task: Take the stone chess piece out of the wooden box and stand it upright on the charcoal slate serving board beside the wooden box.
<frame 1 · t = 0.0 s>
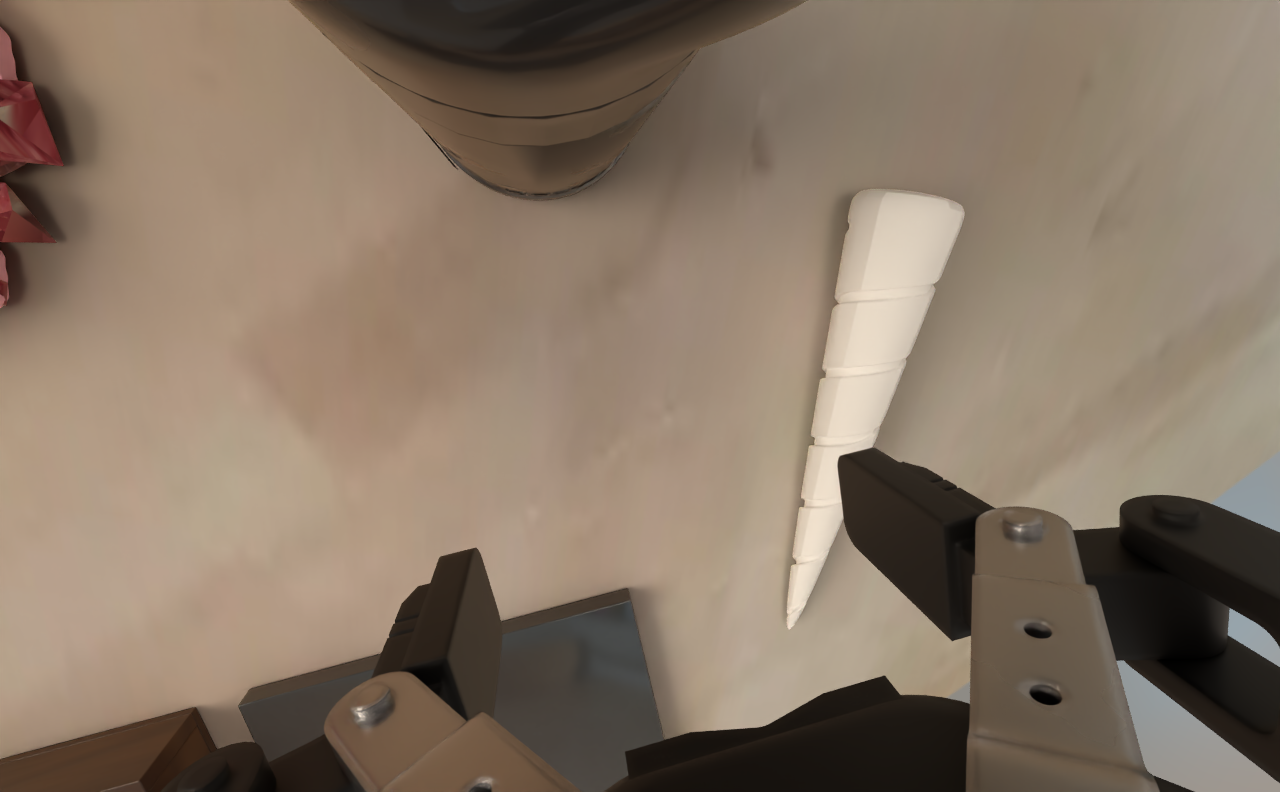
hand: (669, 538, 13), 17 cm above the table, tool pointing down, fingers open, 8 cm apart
unicorn horn: (836, 410, 32), on the table
slate board: (479, 741, 33), on the table
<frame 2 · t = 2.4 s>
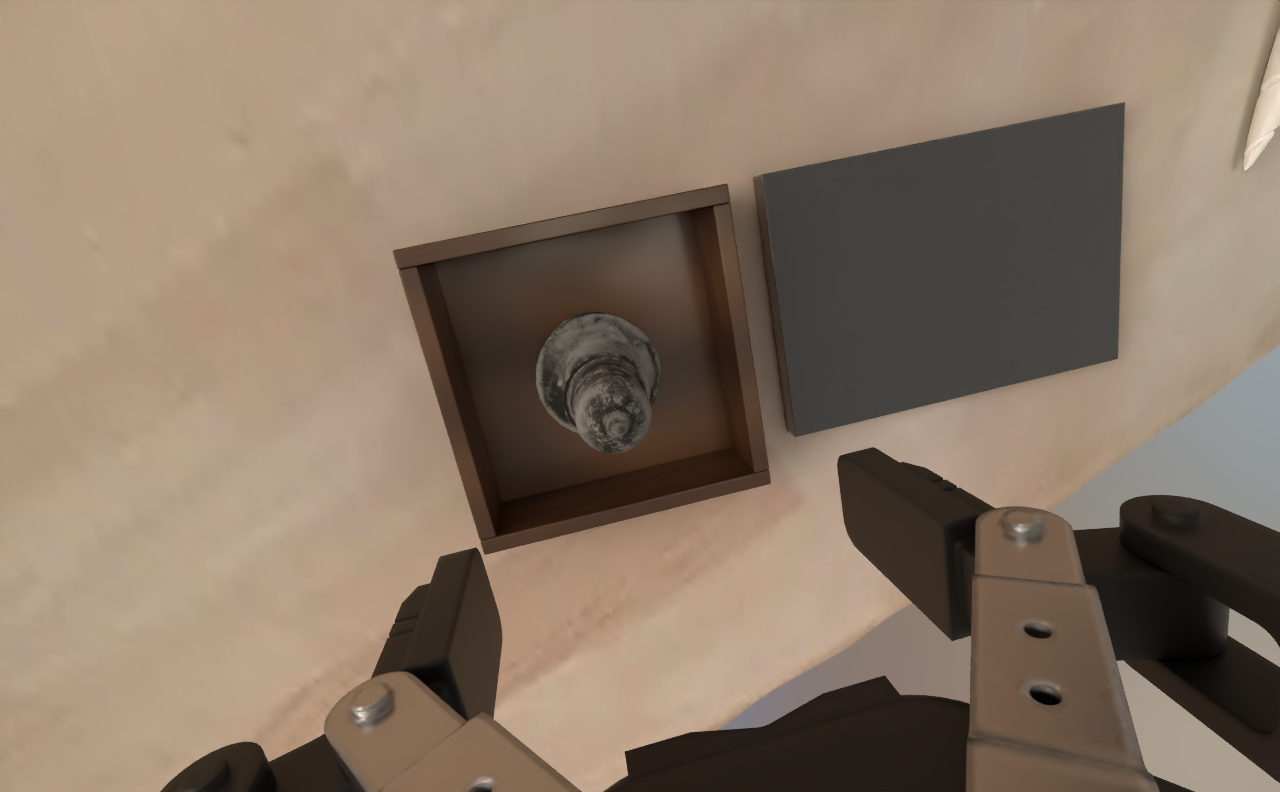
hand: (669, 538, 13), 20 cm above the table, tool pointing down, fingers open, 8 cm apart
wooden box: (593, 360, 32), on the table
slate board: (941, 273, 33), on the table
stone chess piece: (593, 361, 31), resting on wooden box
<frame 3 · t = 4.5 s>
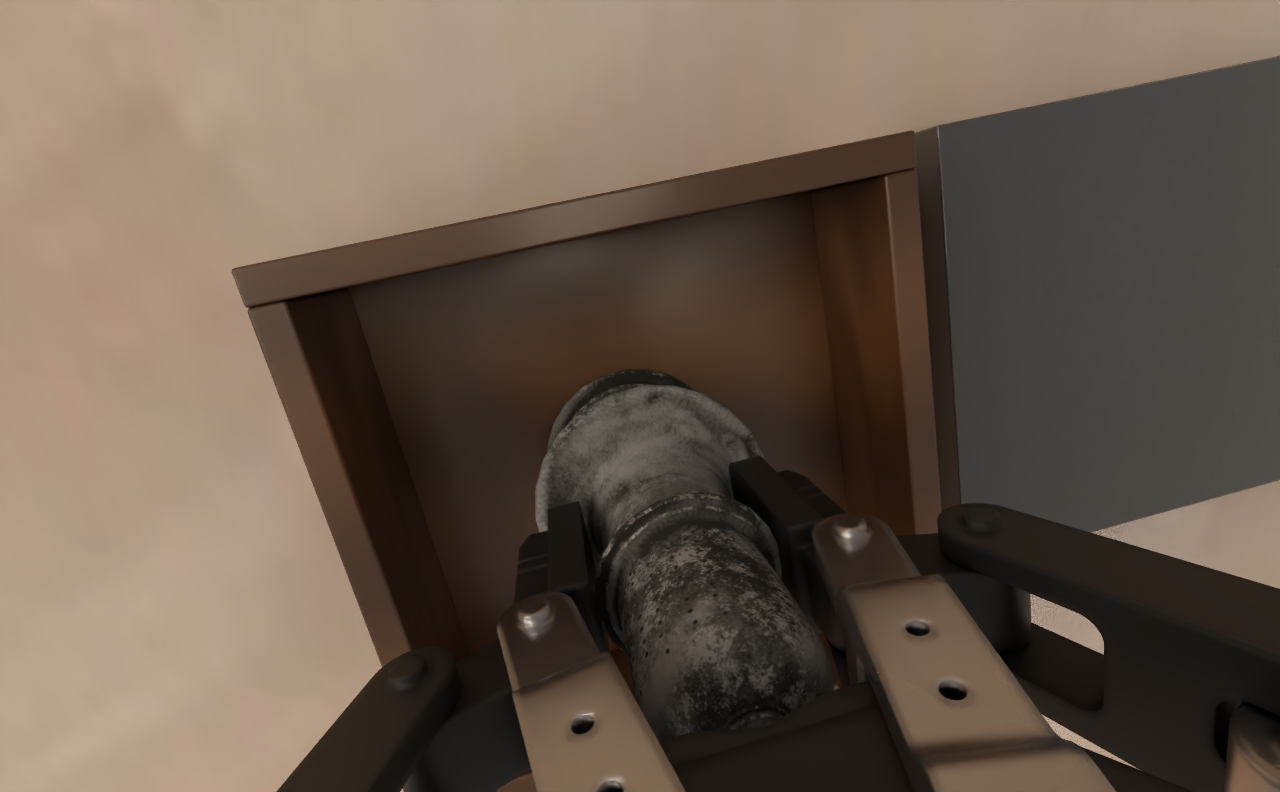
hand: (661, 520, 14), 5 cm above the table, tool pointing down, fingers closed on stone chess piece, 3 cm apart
wooden box: (632, 449, 19), on the table
slate board: (1200, 296, 20), on the table
stone chess piece: (633, 451, 18), resting on wooden box, touching gripper
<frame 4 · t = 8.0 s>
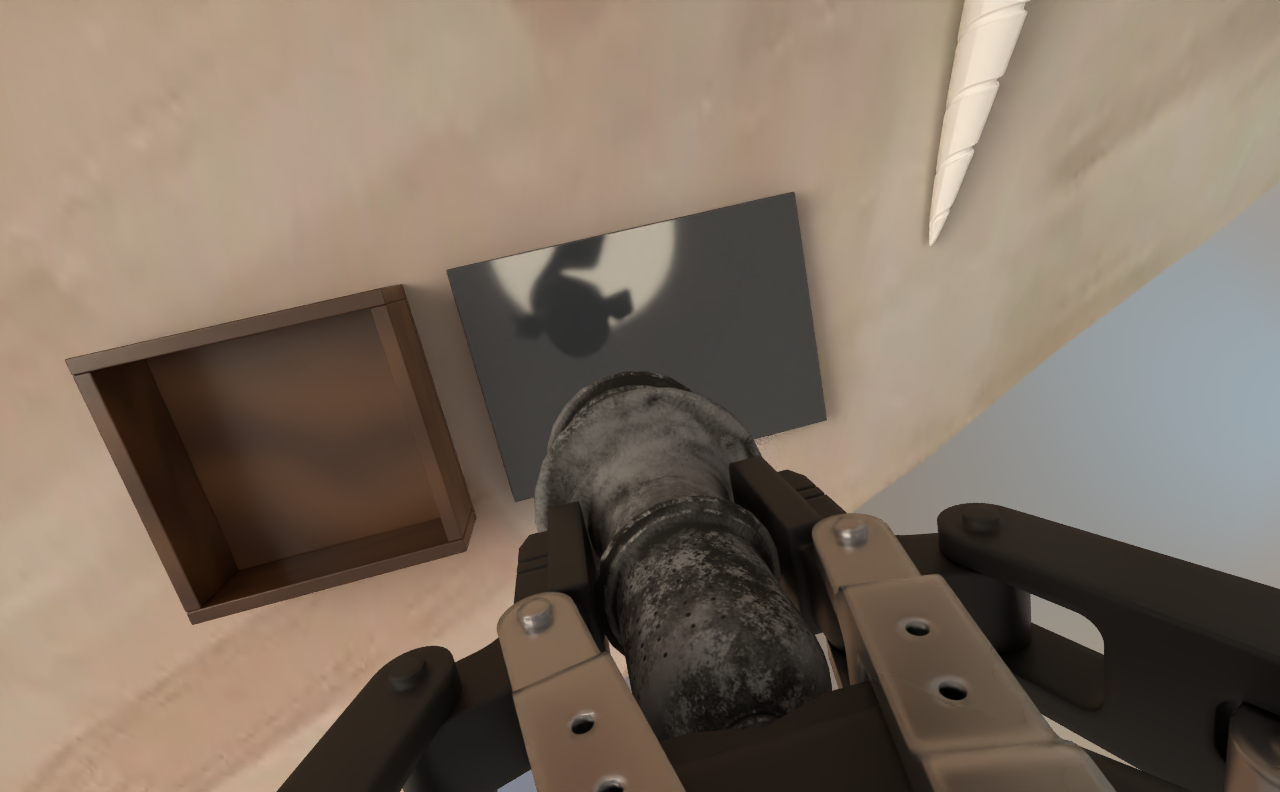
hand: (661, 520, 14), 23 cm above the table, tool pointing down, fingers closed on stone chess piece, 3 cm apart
wooden box: (315, 438, 34), on the table
unicorn horn: (977, 23, 35), on the table
slate board: (648, 347, 36), on the table
stone chess piece: (633, 453, 18), point 18 cm above the table, touching gripper
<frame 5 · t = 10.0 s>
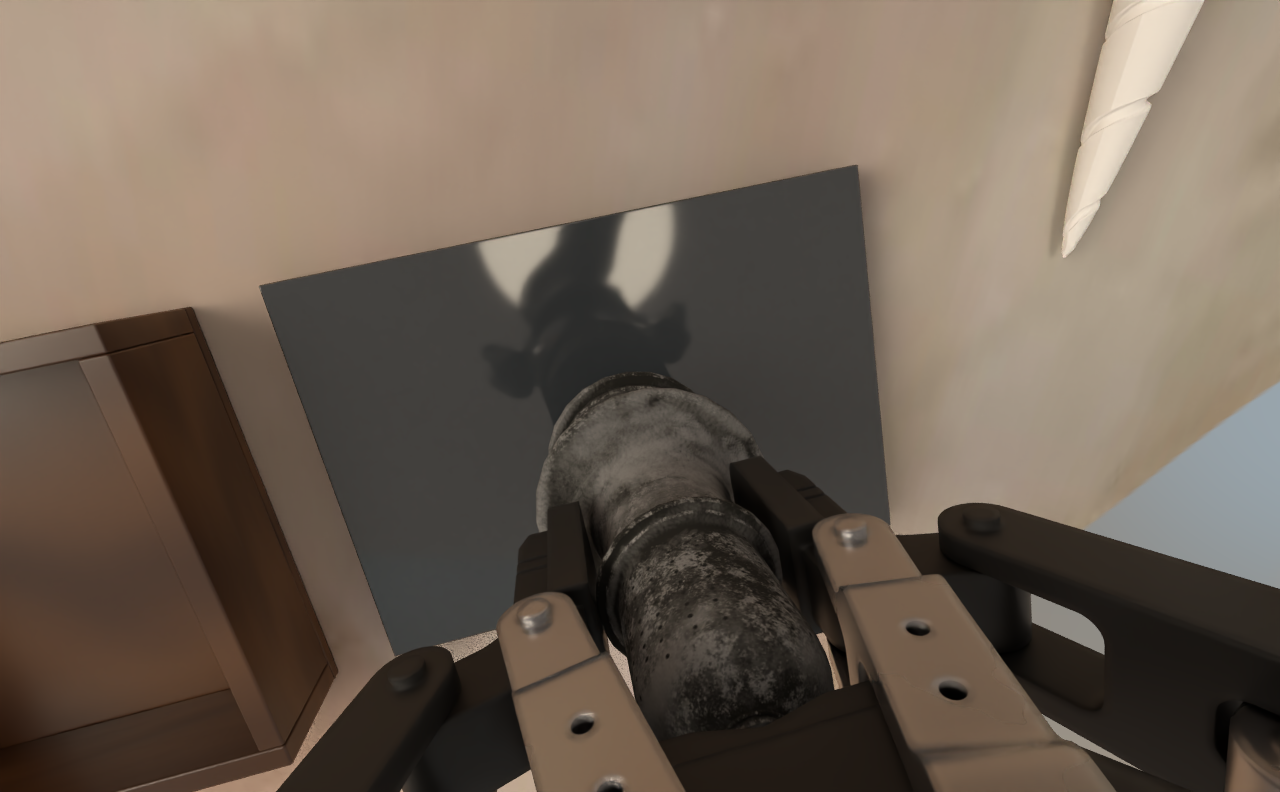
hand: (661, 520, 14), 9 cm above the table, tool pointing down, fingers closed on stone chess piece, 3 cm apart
wooden box: (57, 556, 21), on the table
slate board: (612, 412, 23), on the table
stone chess piece: (634, 453, 18), point 4 cm above the table, touching gripper
when the fingers open (6 cm above the table, at t = 11.3 s): stone chess piece stays where it is, resting on slate board.
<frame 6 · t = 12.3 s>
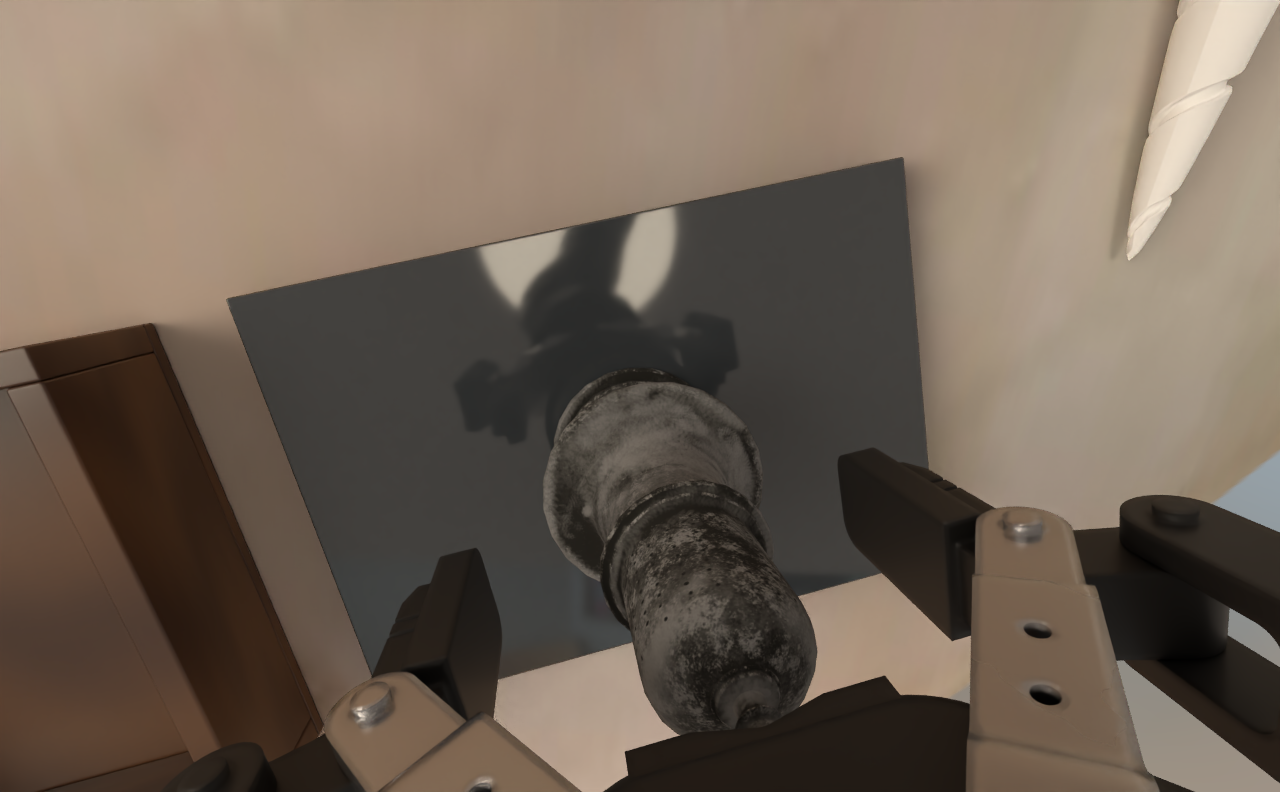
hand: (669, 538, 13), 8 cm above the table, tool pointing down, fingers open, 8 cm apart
wooden box: (4, 604, 18), on the table
slate board: (627, 436, 20), on the table
stone chess piece: (635, 446, 19), point 1 cm above the table, touching slate board
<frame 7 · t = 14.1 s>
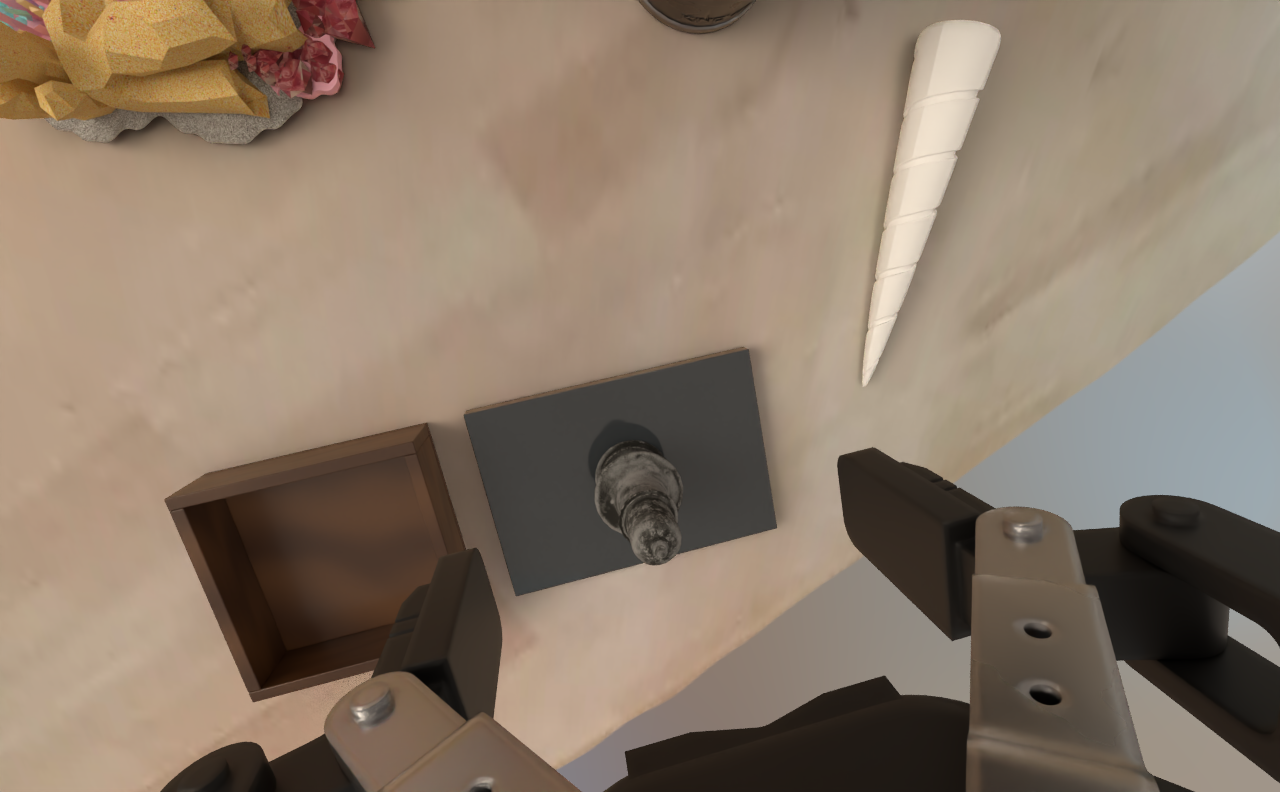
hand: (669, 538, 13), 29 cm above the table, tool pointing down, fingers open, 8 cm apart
wooden box: (352, 544, 42), on the table
unicorn horn: (901, 211, 42), on the table
slate board: (628, 469, 44), on the table
stone chess piece: (631, 474, 43), point 1 cm above the table, touching slate board
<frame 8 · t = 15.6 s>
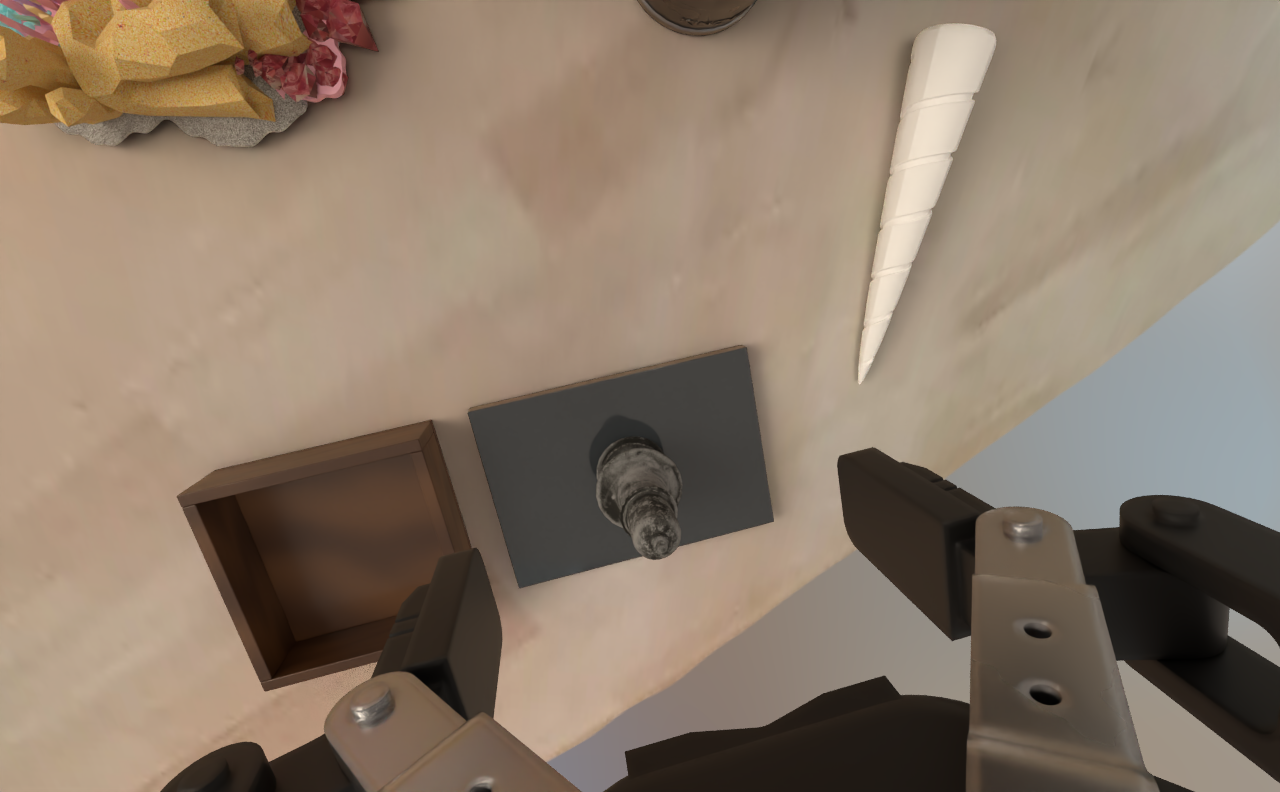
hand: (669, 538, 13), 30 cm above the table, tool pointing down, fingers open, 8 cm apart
wooden box: (359, 538, 43), on the table
unicorn horn: (897, 210, 43), on the table
slate board: (628, 464, 45), on the table
stone chess piece: (632, 470, 44), point 1 cm above the table, touching slate board
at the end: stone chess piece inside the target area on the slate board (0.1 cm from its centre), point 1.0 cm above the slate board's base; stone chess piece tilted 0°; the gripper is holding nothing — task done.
